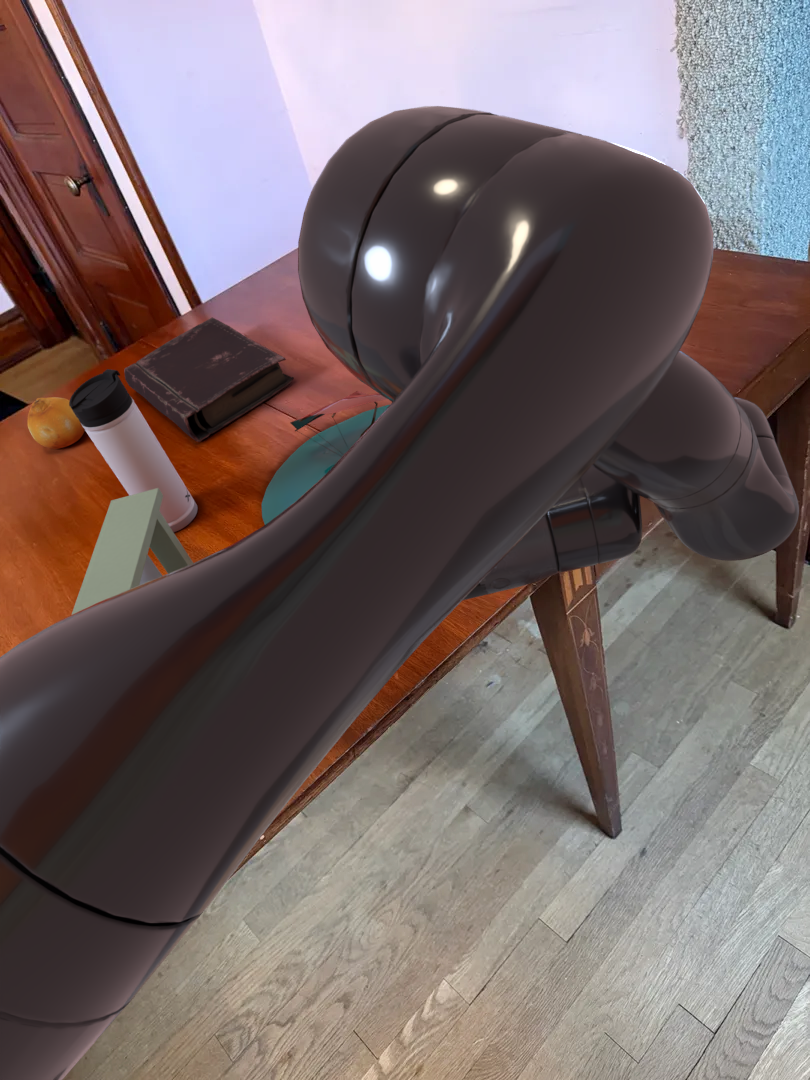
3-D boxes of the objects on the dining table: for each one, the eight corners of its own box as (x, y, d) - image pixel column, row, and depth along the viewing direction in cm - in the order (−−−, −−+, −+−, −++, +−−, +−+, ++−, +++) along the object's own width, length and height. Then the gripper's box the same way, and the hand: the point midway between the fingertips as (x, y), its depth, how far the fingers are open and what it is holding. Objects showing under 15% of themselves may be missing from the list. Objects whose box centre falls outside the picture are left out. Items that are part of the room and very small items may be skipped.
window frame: (240, 604, 80) (166, 485, 69) (216, 796, 64) (113, 682, 52) (185, 617, 81) (103, 502, 70) (147, 811, 64) (31, 701, 53)
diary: (195, 446, 106) (179, 418, 103) (134, 395, 123) (118, 369, 120) (300, 380, 112) (288, 351, 109) (228, 340, 129) (216, 314, 126)
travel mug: (209, 504, 95) (130, 370, 82) (175, 539, 92) (86, 405, 78) (177, 495, 98) (96, 366, 85) (142, 529, 95) (53, 399, 82)
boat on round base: (492, 393, 96) (469, 314, 90) (475, 537, 76) (443, 448, 69) (299, 435, 105) (265, 366, 99) (237, 573, 85) (188, 498, 78)
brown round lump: (27, 455, 113) (26, 405, 109) (28, 435, 119) (27, 387, 116) (86, 457, 116) (87, 408, 113) (84, 438, 123) (84, 391, 119)
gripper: (455, 440, 53) (229, 500, 55) (483, 571, 43) (207, 638, 46) (476, 515, 58) (268, 568, 60) (505, 648, 48) (256, 705, 51)
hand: (242, 598), depth 53 cm, fingers closed
